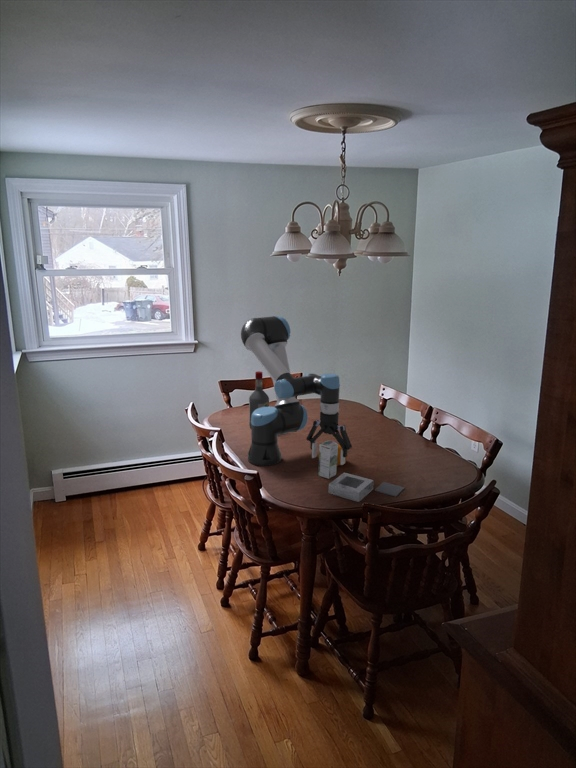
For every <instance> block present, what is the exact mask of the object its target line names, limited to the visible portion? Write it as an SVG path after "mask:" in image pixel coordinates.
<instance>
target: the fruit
mask: <svg viewBox="0 0 576 768" xmlns="http://www.w3.org/2000/svg"><path fill="white" fill-rule="evenodd" d="M334 442H335V443H337V441H334ZM341 450H342V447H341V446H340V444H339V443H338V456H337V467H339V466H341V465H340V463H341ZM348 457H349V455H348V454H347V457H345V463H346V461H347V460H348Z"/></svg>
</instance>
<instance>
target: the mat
mask: <svg viewBox="0 0 576 768" xmlns="http://www.w3.org/2000/svg"><path fill="white" fill-rule="evenodd" d="M373 490H374V492H377V493H381V494H384V495H388V496H391V497H395V498H396V497H397V496H398V495H399V494H400V493H402V491H404V490H405V486H401V485H396V484H394V483H393V484H392V483H389V482H385V481H383V482H382V483H381V484H379V486H377V487H376V488H375V489H373Z"/></svg>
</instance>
